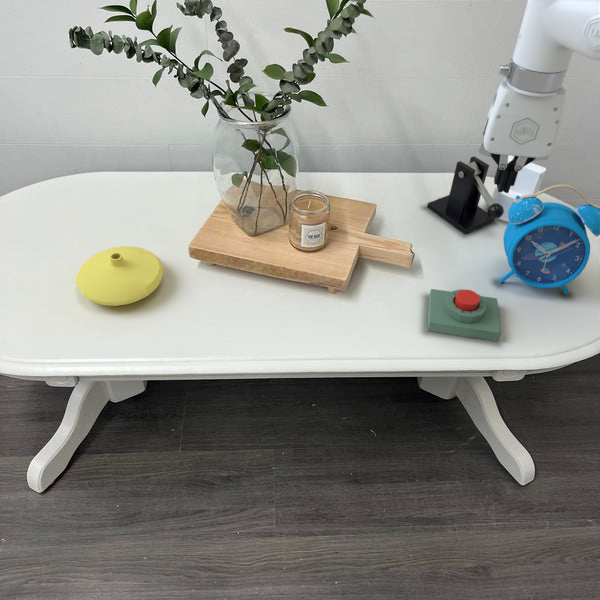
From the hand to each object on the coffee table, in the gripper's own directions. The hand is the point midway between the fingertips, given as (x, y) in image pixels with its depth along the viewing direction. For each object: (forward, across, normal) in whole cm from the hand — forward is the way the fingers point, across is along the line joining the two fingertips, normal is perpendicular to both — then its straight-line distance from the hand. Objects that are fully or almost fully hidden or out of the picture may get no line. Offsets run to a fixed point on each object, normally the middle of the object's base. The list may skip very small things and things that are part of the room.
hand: (502, 187), depth 94 cm
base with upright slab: (+23, +10, +30) cm, 39 cm away
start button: (+19, -2, -8) cm, 21 cm away
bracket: (+23, -1, +26) cm, 35 cm away
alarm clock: (+23, +12, +6) cm, 27 cm away
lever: (+16, +2, +23) cm, 28 cm away
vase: (+23, -65, -10) cm, 70 cm away
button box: (+23, -2, -8) cm, 24 cm away
